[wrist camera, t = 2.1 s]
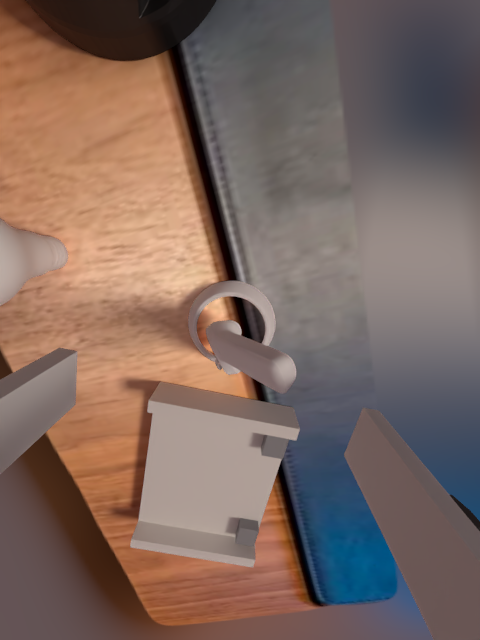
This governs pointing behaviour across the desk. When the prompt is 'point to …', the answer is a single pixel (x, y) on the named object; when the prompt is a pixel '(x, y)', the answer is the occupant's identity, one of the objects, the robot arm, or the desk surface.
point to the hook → (243, 339)
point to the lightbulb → (26, 258)
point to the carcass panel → (209, 472)
